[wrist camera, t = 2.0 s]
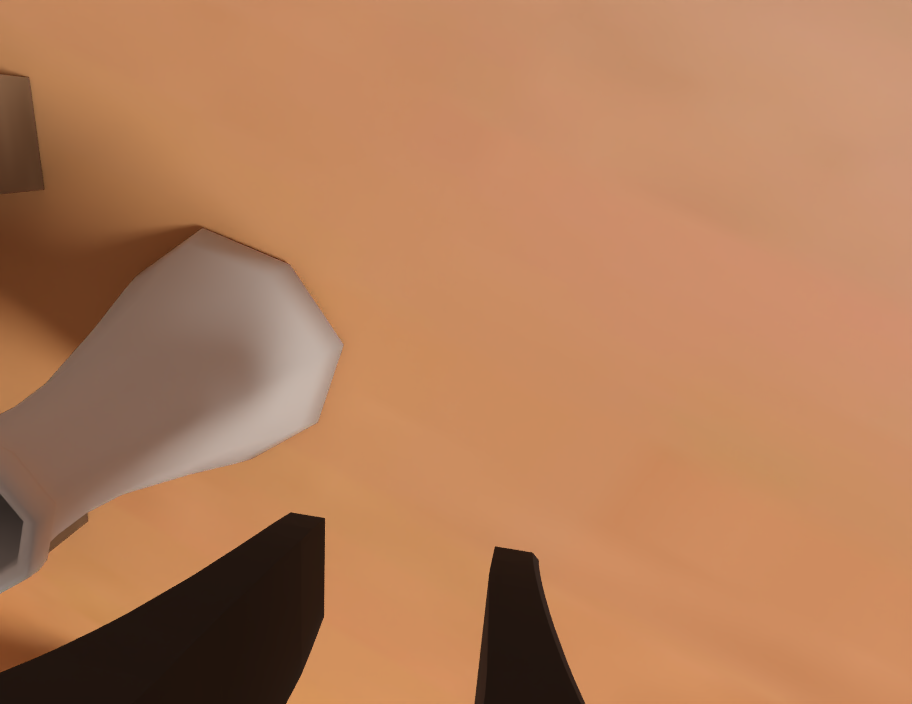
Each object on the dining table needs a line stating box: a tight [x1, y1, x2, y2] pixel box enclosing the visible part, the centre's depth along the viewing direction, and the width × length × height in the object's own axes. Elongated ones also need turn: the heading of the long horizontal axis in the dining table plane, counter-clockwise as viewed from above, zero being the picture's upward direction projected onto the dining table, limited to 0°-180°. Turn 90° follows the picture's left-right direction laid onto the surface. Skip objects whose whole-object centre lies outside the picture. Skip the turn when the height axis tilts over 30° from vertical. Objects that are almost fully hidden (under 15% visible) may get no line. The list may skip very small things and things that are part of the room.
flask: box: [0, 228, 343, 593], centre depth 16 cm, size 7×7×10 cm
